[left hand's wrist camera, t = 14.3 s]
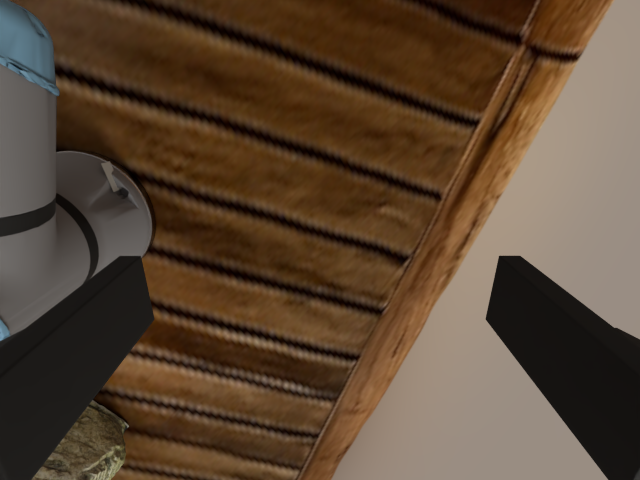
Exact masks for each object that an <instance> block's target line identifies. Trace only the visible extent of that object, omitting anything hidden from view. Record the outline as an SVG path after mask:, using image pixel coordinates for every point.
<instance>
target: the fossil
mask: <svg viewBox="0 0 640 480" xmlns="http://www.w3.org/2000/svg"><path fill="white" fill-rule="evenodd" d="M128 427H129V425H128V424H127V423H126V422H125V421H124V420H123V419H121V418H119V417H118V416H116V415H115V414H114V413H112V412H111V411H109V410H108V409H106V408H105V407H104V406H101V405H99V404H97V403H96V402H95V401H94V400H92V401H91V403H90V404H89V405H88V407H87V408H86V409H85V411H84V412H83V413H82V415H81V416H80V417H79V418H78V420H77V421H76V422H75V424H74V425H73V426H72V428H71V429H70V430H69V432H68V433H67V434H66V435H65V437H64V438H63V439H62V441H61V442H60V443H59V445H58V446H57V447H56V449H55V450H54V451H53V452H52V454H51V455H50V456H49V458H48V459H47V460H46V462H45V463H44V464H43V466H42V467H41V468H40V469H39V471H38V472H37V473H36V475H35V476H34V477H33V479H32V480H111V479H112V477H113V476H114V475H115V474H116V472H117V471H118V470H119V469H120V467H121V466H122V464H123V463H124V461H125V454H126V452H125V442H124V439H123V434H124V432H125V430H126V429H127V428H128Z"/></svg>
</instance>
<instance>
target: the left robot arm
mask: <svg viewBox="0 0 640 480" xmlns="http://www.w3.org/2000/svg"><path fill="white" fill-rule="evenodd" d="M59 93H60V92H59V89H58V87H57V86H56V79H55V68H54V49H53V42H52V39H51V36H50V34H49V32H48V30H47V29H46V27H45V26H44V25H43V23H42V22H41V21H40V20H39V19H38V18H37V17H36V16H34V15H33V14H32V13H31V12H29V11H28V10H26V9H25V8H23V7H21V6H19V5H17V4H15V3H13V2H11V1H9V0H0V480H32V479H33V477H34V476H35V475H36V473H37V472H38V471H39V469H40V468H41V467H42V466H43V464H44V463H45V462H46V460H47V459H48V458H49V456H50V455H51V454H52V452H53V451H54V450H55V449H56V447H57V446H58V445H59V443H60V442H61V441H62V439H63V438H64V437H65V435H66V434H67V433H68V432H69V430H70V429H71V428H72V426H73V425H74V424H75V422H76V421H77V420H78V418H79V417H80V416H81V415H82V413H83V412H84V411H85V409H86V408H87V407H88V405H89V404H90V403H91V401H92V400H93V399H94V398H95V396H96V395H97V394H98V392H99V391H100V390H101V388H102V387H103V386H104V384H105V383H106V382H107V381H108V379H109V378H110V377H111V375H112V374H113V373H114V371H115V370H116V369H117V367H118V366H119V365H120V364H121V362H122V361H123V360H124V358H125V357H126V356H127V354H128V353H129V352H130V350H131V349H132V348H133V347H134V345H135V344H136V343H137V341H138V340H139V339H140V337H141V336H142V335H143V333H144V332H145V331H146V330H147V328H148V327H149V326H150V324H151V323H152V322H153V320H154V315H153V311H152V306H151V301H150V297H149V292H148V287H147V283H146V278H145V273H144V268H143V264H142V258H143V257H144V256H145V255H146V253H147V252H148V251H149V249H150V247H151V245H152V243H153V240H154V236H155V230H156V221H155V214H154V210H153V206H152V204H151V201H150V199H149V197H148V195H147V193H146V191H145V190H144V188H143V187H142V185H141V184H140V183H139V182H138V180H137V179H136V178H135V177H134V176H133V175H132V174H131V173H130V172H129V171H127V170H126V169H125V168H124V167H122V166H121V165H120V164H118V163H116V162H115V161H113V160H111V159H109V158H107V157H105V156H102V155H100V154H97V153H94V152H89V151H83V150H66V151H60V152H56V110H57V96H59ZM486 320H487V322H488V323H489V324H490V326H491V327H492V328H493V329H494V331H495V332H496V333H497V335H498V336H499V337H500V339H501V340H502V341H503V343H504V344H505V345H506V347H507V348H508V349H509V350H510V352H511V353H512V354H513V356H514V357H515V358H516V360H517V361H518V362H519V364H520V365H521V366H522V367H523V369H524V370H525V371H526V373H527V374H528V375H529V377H530V378H531V379H532V381H533V382H534V383H535V384H536V386H537V387H538V388H539V390H540V391H541V392H542V394H543V395H544V396H545V398H546V399H547V400H548V401H549V403H550V404H551V405H552V407H553V408H554V409H555V411H556V412H557V413H558V414H559V416H560V417H561V418H562V420H563V421H564V422H565V424H566V425H567V426H568V428H569V429H570V430H571V432H572V433H573V434H574V435H575V437H576V438H577V439H578V441H579V442H580V443H581V445H582V446H583V447H584V449H585V450H586V451H587V452H588V454H589V455H590V456H591V458H592V459H593V460H594V462H595V463H596V464H597V466H598V467H599V468H600V469H601V471H602V472H603V473H604V475H605V476H606V477H607V479H608V480H640V339H638V338H636V337H634V336H632V335H630V334H628V333H626V332H624V331H622V330H620V329H618V328H614V327H612V326H611V325H610V324H608V323H607V322H606V321H605V320H603V319H602V318H601V317H599V316H598V315H597V314H595V313H594V312H593V311H591V310H590V309H589V308H587V307H586V306H585V305H584V304H582V303H581V302H580V301H578V300H577V299H576V298H574V297H573V296H572V295H571V294H569V293H568V292H566V291H565V290H564V289H563V288H561V287H560V286H559V285H558V284H556V283H555V282H554V281H552V280H551V279H550V278H548V277H547V276H546V275H544V274H543V273H542V272H541V271H539V270H538V269H537V268H535V267H534V266H533V265H531V264H530V263H529V262H527V261H526V260H525V259H524V258H522V257H521V256H499V259H498V264H497V268H496V273H495V278H494V283H493V287H492V292H491V297H490V301H489V306H488V311H487V315H486Z"/></svg>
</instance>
